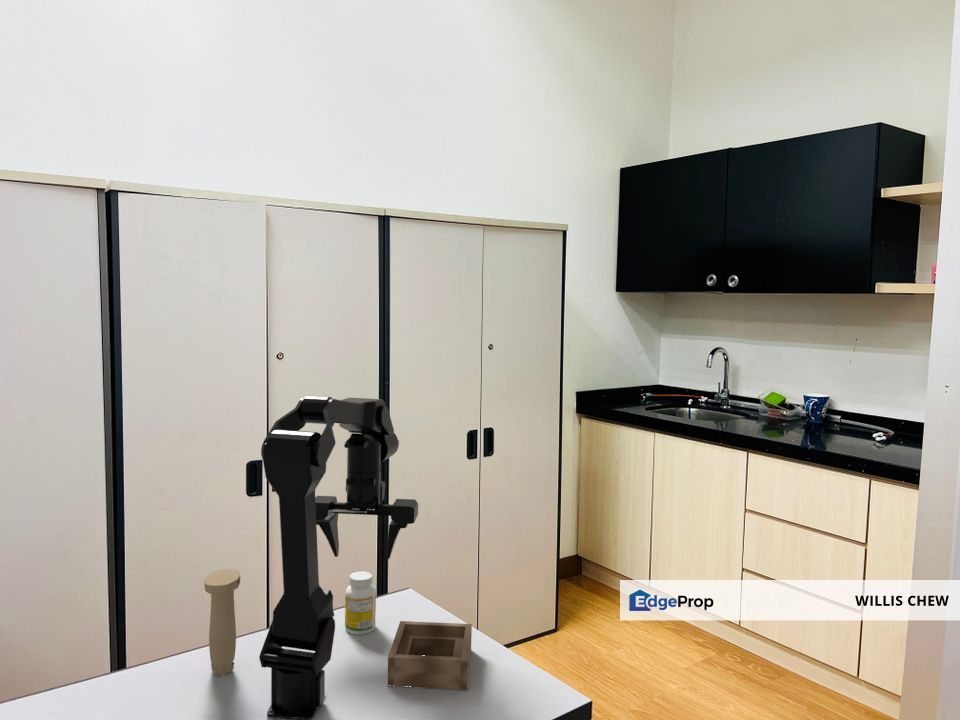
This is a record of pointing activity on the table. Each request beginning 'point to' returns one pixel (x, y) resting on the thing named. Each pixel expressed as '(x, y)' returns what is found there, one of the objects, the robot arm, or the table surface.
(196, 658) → the table surface
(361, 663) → the table surface
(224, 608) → the handle
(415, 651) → the walnut box
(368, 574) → the supplement bottle
